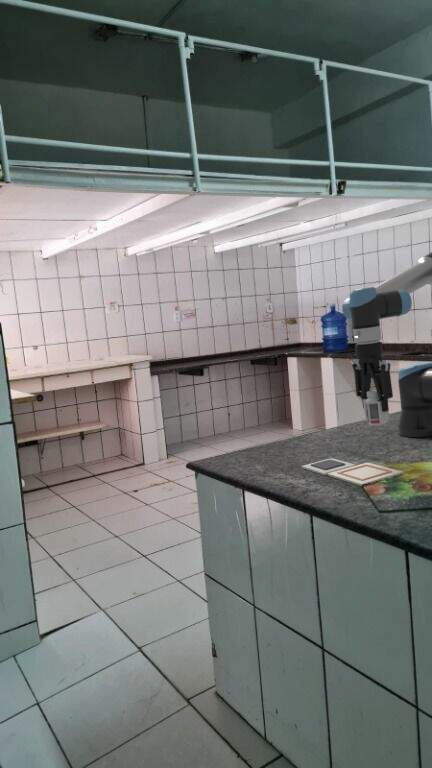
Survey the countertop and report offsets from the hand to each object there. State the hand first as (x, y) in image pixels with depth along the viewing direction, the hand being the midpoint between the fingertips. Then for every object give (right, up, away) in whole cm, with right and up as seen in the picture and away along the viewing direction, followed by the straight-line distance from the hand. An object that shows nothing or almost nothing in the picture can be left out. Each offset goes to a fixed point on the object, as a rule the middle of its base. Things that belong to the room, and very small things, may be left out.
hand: (377, 421), depth 164 cm
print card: (-7, -14, -13) cm, 20 cm away
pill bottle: (0, -1, 0) cm, 1 cm away
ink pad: (-14, -13, -1) cm, 20 cm away
